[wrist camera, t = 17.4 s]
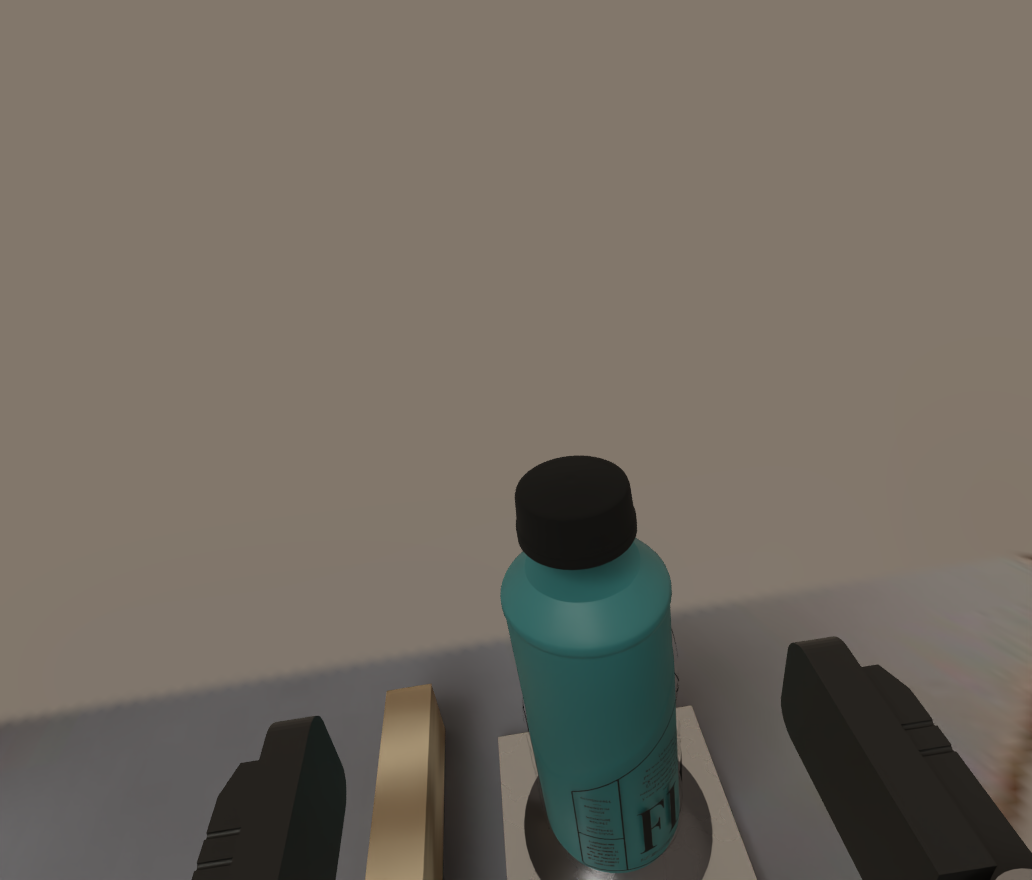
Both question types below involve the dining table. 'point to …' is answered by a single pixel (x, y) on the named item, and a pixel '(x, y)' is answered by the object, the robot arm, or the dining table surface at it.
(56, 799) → the dining table surface
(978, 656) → the dining table surface
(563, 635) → the beverage bottle
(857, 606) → the dining table surface
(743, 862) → the plate
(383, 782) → the sill
